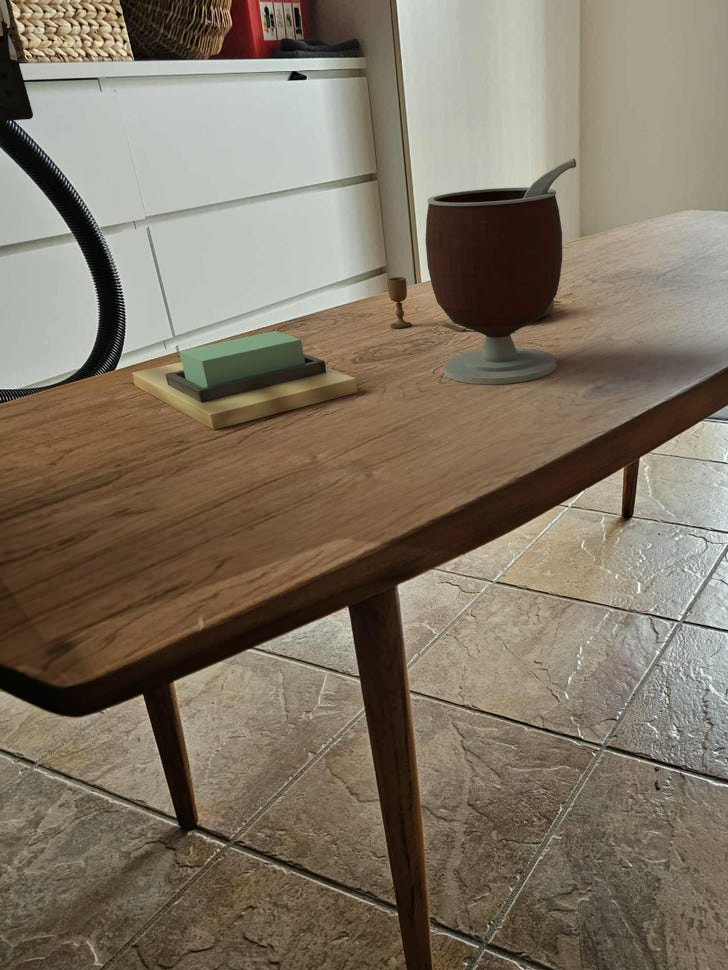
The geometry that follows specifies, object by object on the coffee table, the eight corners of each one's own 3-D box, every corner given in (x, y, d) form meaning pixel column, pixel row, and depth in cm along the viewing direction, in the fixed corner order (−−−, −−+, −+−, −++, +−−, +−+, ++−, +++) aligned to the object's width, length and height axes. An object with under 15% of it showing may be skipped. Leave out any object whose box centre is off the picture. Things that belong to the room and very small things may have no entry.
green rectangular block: (209, 396, 90) (202, 361, 88) (187, 384, 94) (179, 351, 92) (306, 372, 96) (301, 339, 94) (281, 363, 100) (275, 330, 98)
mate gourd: (418, 384, 95) (397, 171, 84) (460, 350, 106) (447, 158, 95) (561, 389, 90) (558, 165, 80) (590, 353, 101) (591, 152, 91)
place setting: (529, 334, 110) (527, 283, 107) (385, 329, 117) (379, 281, 114) (571, 303, 124) (570, 257, 121) (439, 300, 131) (436, 257, 128)
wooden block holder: (213, 430, 86) (207, 402, 84) (135, 386, 101) (128, 361, 99) (357, 392, 93) (354, 366, 92) (264, 356, 109) (260, 334, 107)
